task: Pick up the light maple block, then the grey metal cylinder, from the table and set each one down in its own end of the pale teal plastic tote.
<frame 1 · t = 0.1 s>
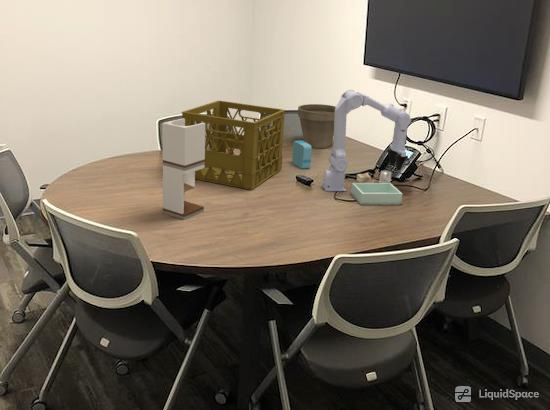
hand: (395, 167, 261), 10 cm above the table, tool pointing down, fingers open, 7 cm apart
maple block: (363, 185, 266), on the table
milk crate: (233, 174, 271), on the table
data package: (300, 166, 290), on the table
metal cylinder: (384, 186, 267), on the table
notched white pedestal: (183, 212, 221), on the table
tote: (375, 199, 249), on the table
plant pot: (316, 145, 331), on the table
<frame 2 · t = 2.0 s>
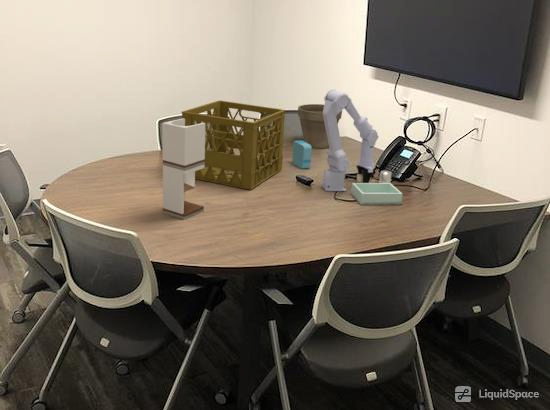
hand: (363, 182, 265), 1 cm above the table, tool pointing down, fingers closed on maple block, 5 cm apart
maple block: (363, 185, 266), on the table, touching gripper
everything else where it was.
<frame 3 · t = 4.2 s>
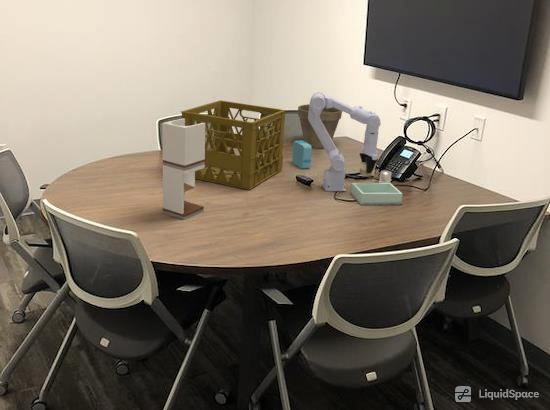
hand: (366, 171, 255), 9 cm above the table, tool pointing down, fingers closed on maple block, 5 cm apart
maple block: (366, 174, 256), point 8 cm above the table, touching gripper
everything else where it was.
when the fingers open (3 cm above the table, at t = 6.7 s): maple block stays where it is, resting on tote.
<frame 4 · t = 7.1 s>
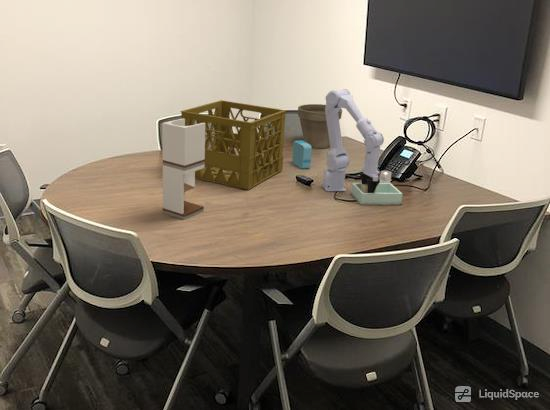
hand: (367, 191, 247), 3 cm above the table, tool pointing down, fingers open, 7 cm apart
maple block: (367, 197, 248), point 1 cm above the table, touching tote
everything else where it was.
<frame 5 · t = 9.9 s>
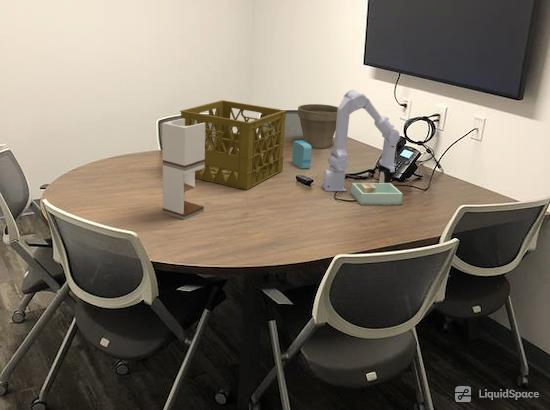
hand: (384, 182, 266), 2 cm above the table, tool pointing down, fingers closed on metal cylinder, 5 cm apart
metal cylinder: (384, 186, 267), on the table, touching gripper
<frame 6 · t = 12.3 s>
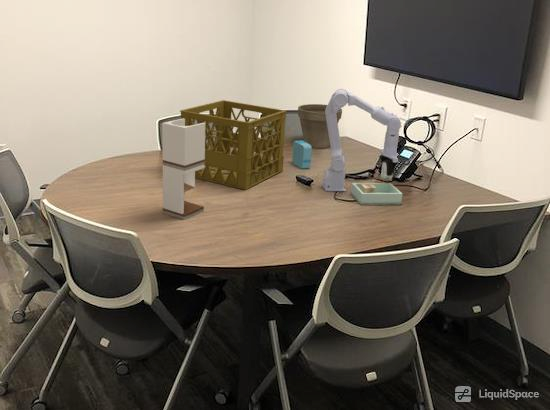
hand: (386, 173, 254), 9 cm above the table, tool pointing down, fingers closed on metal cylinder, 5 cm apart
metal cylinder: (386, 177, 254), point 7 cm above the table, touching gripper
when the fingers open (4 cm above the table, at t = 14.5 s): metal cylinder stays where it is, resting on tote.
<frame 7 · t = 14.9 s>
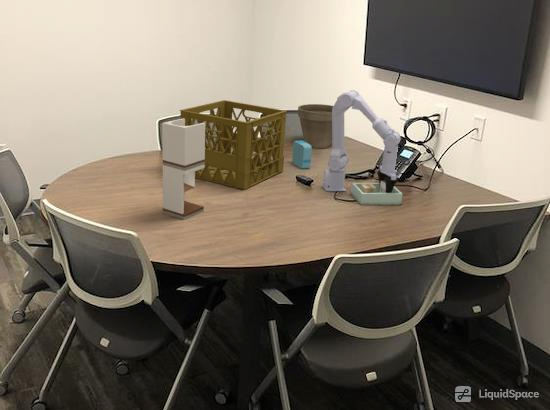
hand: (385, 190, 248), 4 cm above the table, tool pointing down, fingers open, 7 cm apart
metal cylinder: (384, 196, 249), point 1 cm above the table, touching tote
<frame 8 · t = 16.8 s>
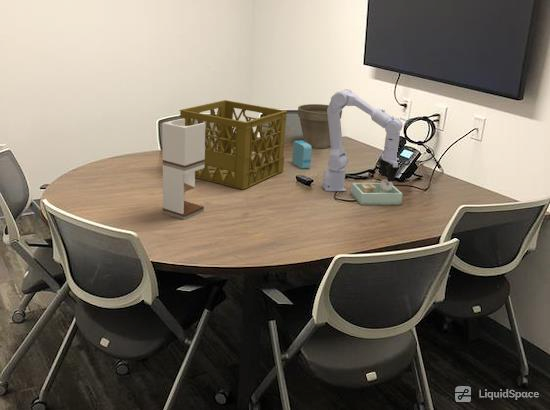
hand: (386, 178, 247), 9 cm above the table, tool pointing down, fingers open, 7 cm apart
at the end: maple block inside the target area on the tote (3.8 cm from its centre), point 1.0 cm above the tote's base; metal cylinder inside the target area on the tote (4.1 cm from its centre), point 1.0 cm above the tote's base; metal cylinder tilted 1° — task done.
